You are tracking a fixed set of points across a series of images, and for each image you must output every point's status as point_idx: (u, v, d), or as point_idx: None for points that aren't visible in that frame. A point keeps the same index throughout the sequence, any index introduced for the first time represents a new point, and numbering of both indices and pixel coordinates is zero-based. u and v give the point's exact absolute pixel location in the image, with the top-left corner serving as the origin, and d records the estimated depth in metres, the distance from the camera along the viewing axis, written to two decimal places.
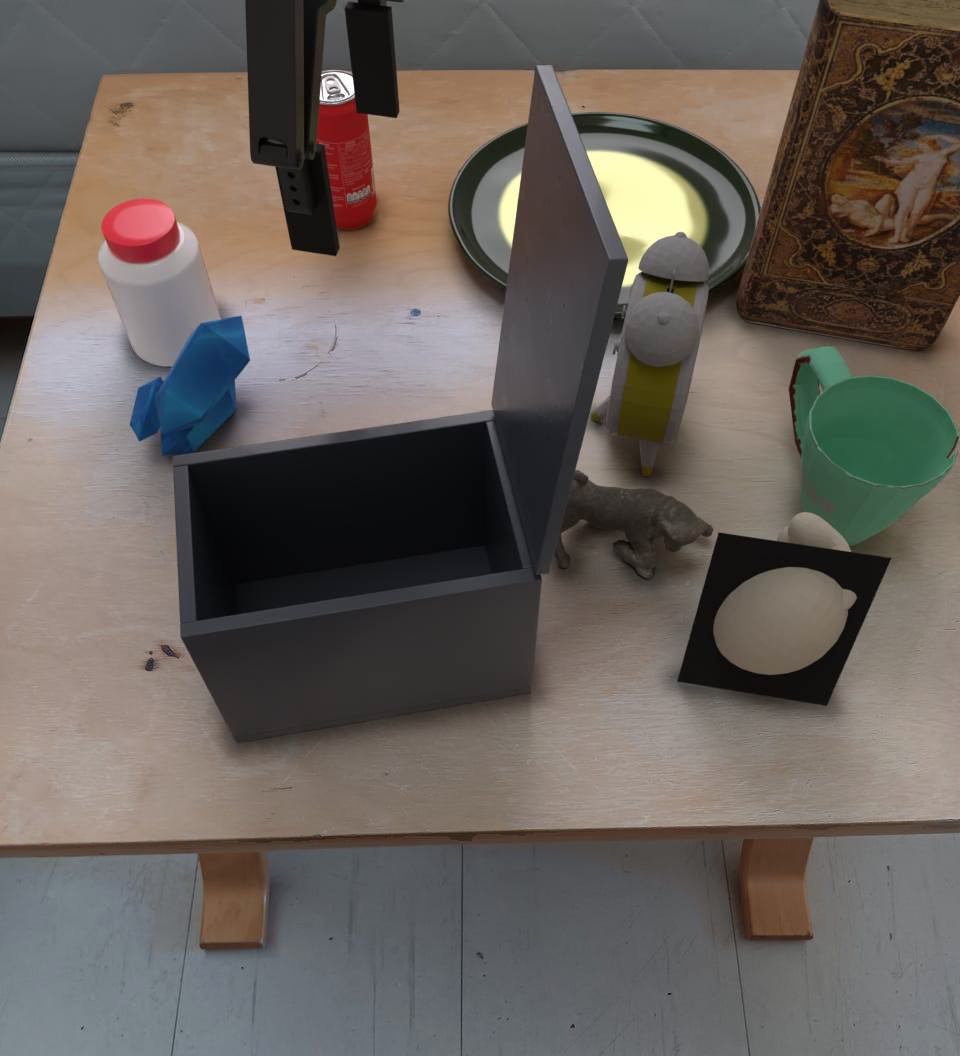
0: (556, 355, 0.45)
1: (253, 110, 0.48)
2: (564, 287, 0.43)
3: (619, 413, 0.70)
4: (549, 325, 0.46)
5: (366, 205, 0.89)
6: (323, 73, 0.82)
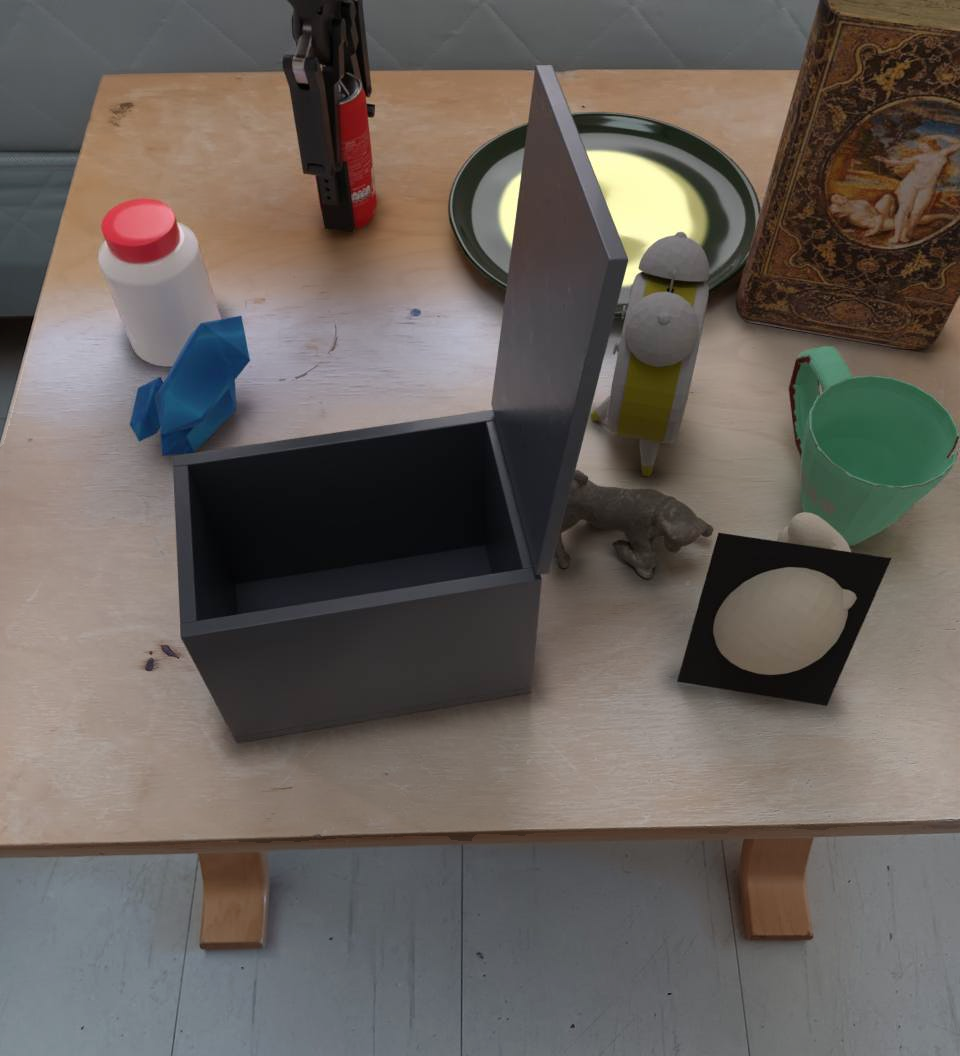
0: (556, 355, 0.45)
1: (302, 148, 0.79)
2: (564, 287, 0.43)
3: (619, 413, 0.70)
4: (549, 325, 0.46)
5: (366, 205, 0.89)
6: None
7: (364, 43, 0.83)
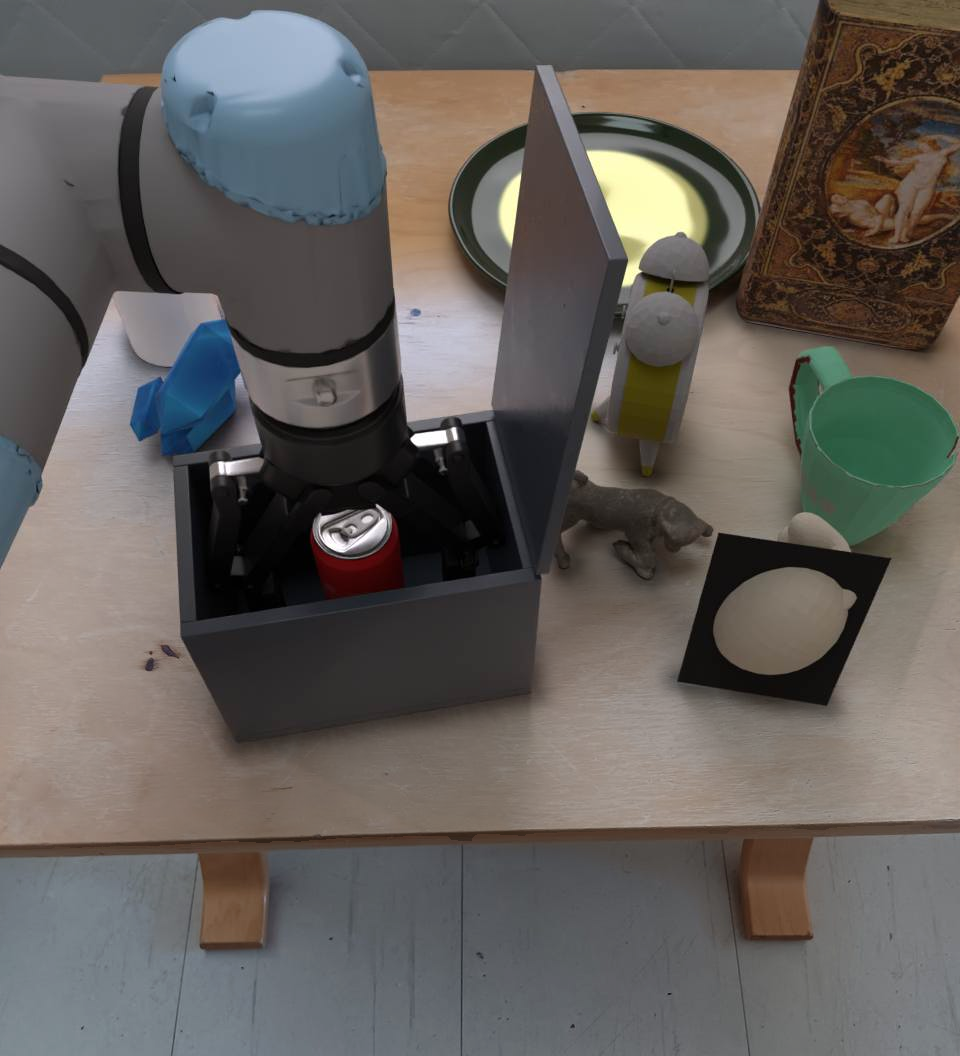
0: (556, 355, 0.45)
1: (208, 538, 0.58)
2: (564, 287, 0.43)
3: (619, 413, 0.70)
4: (549, 325, 0.46)
5: None
6: None
7: (475, 508, 0.57)
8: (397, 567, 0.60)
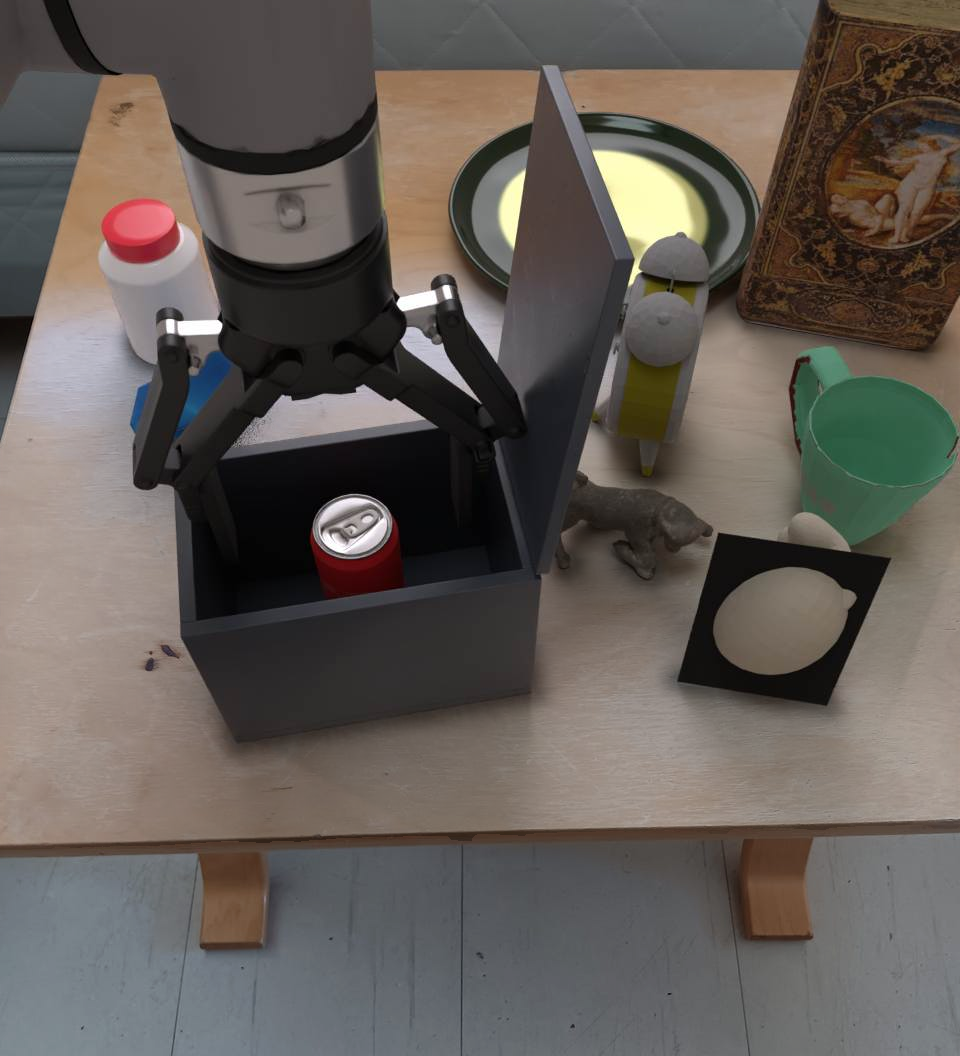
0: (559, 355, 0.45)
1: (139, 423, 0.49)
2: (568, 287, 0.43)
3: (619, 413, 0.70)
4: (552, 325, 0.46)
5: None
6: (378, 504, 0.59)
7: (483, 386, 0.48)
8: (397, 567, 0.60)
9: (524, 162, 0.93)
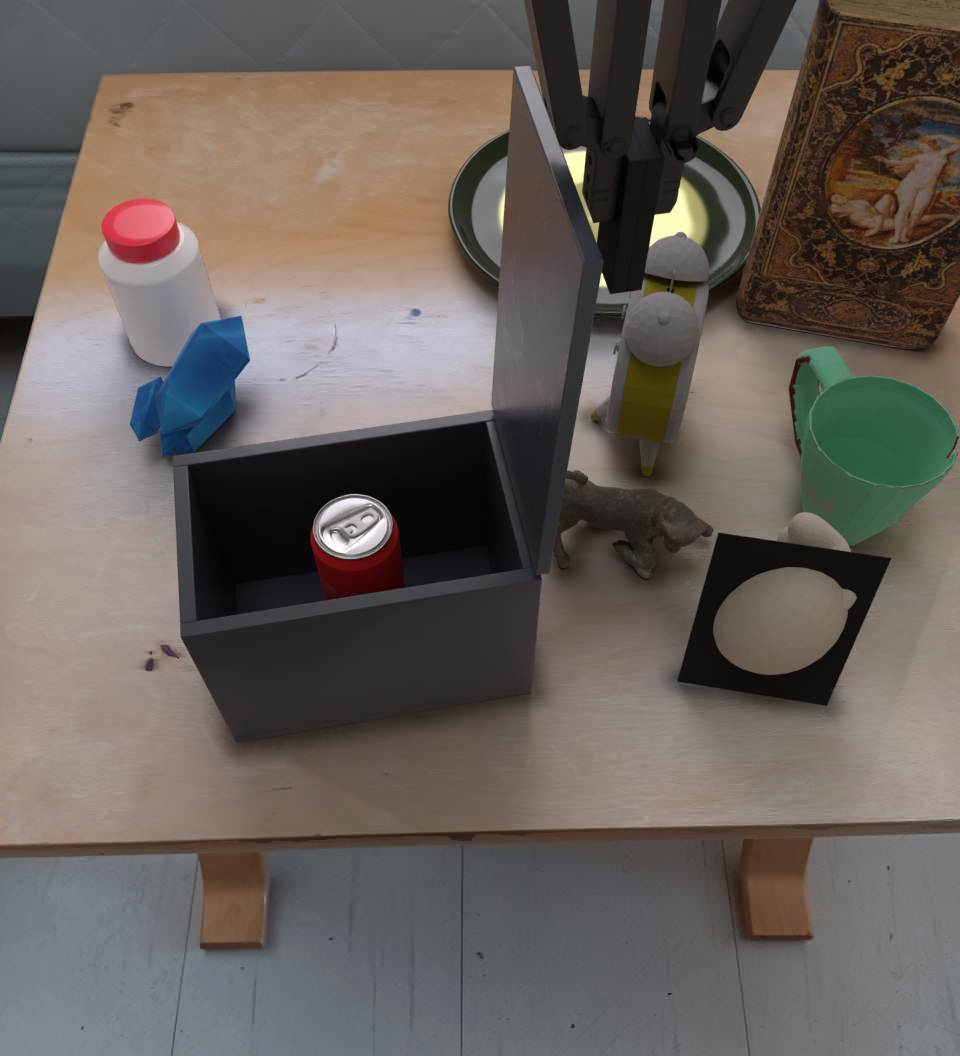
0: (543, 356, 0.45)
1: (536, 61, 0.37)
2: (547, 289, 0.43)
3: (619, 413, 0.70)
4: (536, 326, 0.46)
5: None
6: (378, 504, 0.59)
7: (777, 7, 0.35)
8: (397, 567, 0.60)
9: None
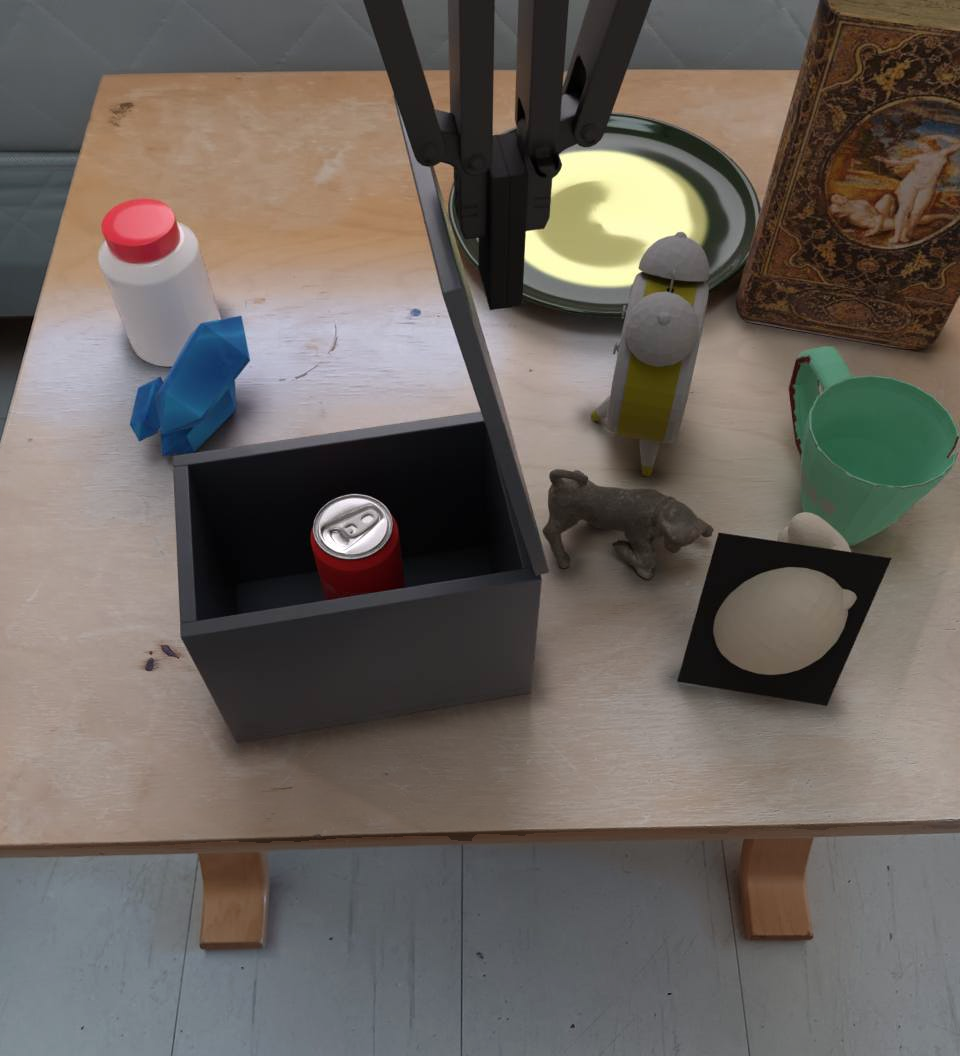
0: None
1: None
2: None
3: (619, 413, 0.70)
4: None
5: None
6: (378, 504, 0.59)
7: (626, 24, 0.35)
8: (397, 567, 0.60)
9: None
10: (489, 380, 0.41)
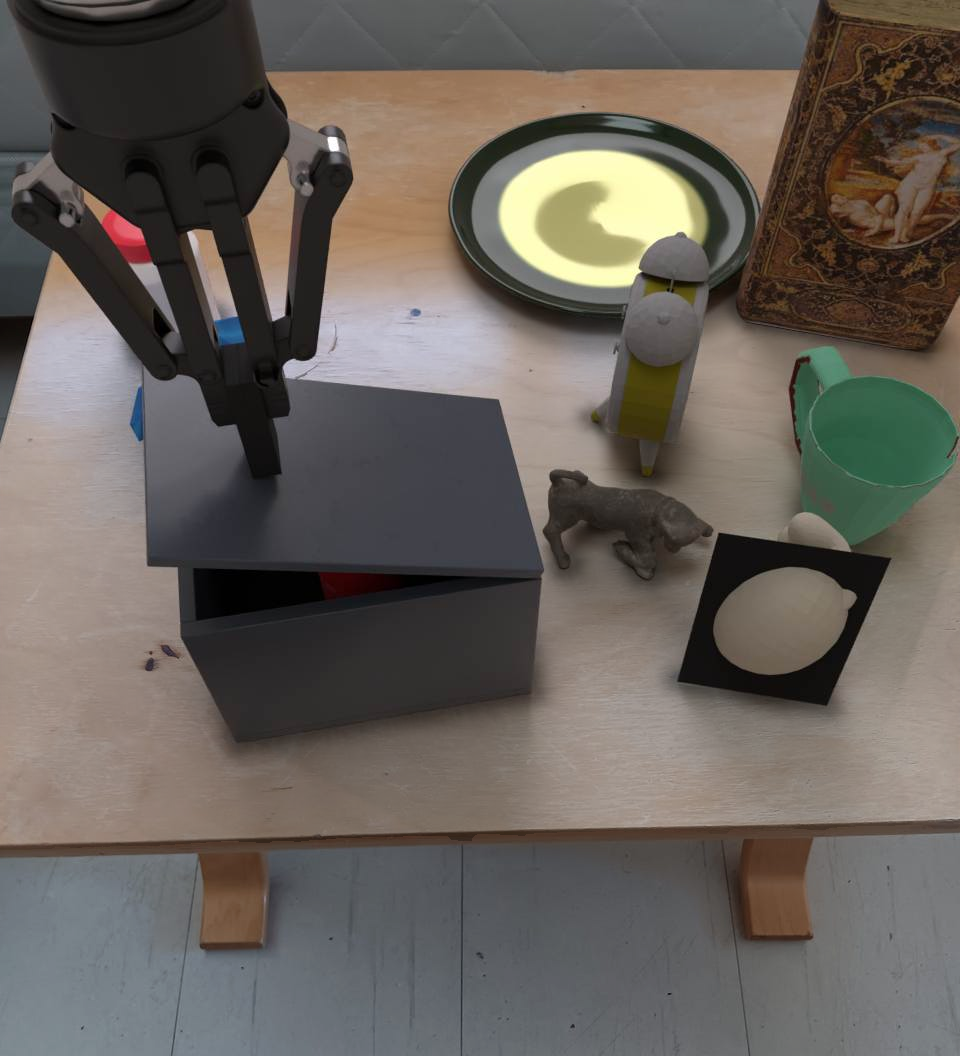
0: None
1: None
2: None
3: (619, 413, 0.70)
4: None
5: None
6: None
7: (310, 277, 0.41)
8: None
9: (524, 162, 0.93)
10: (255, 561, 0.48)
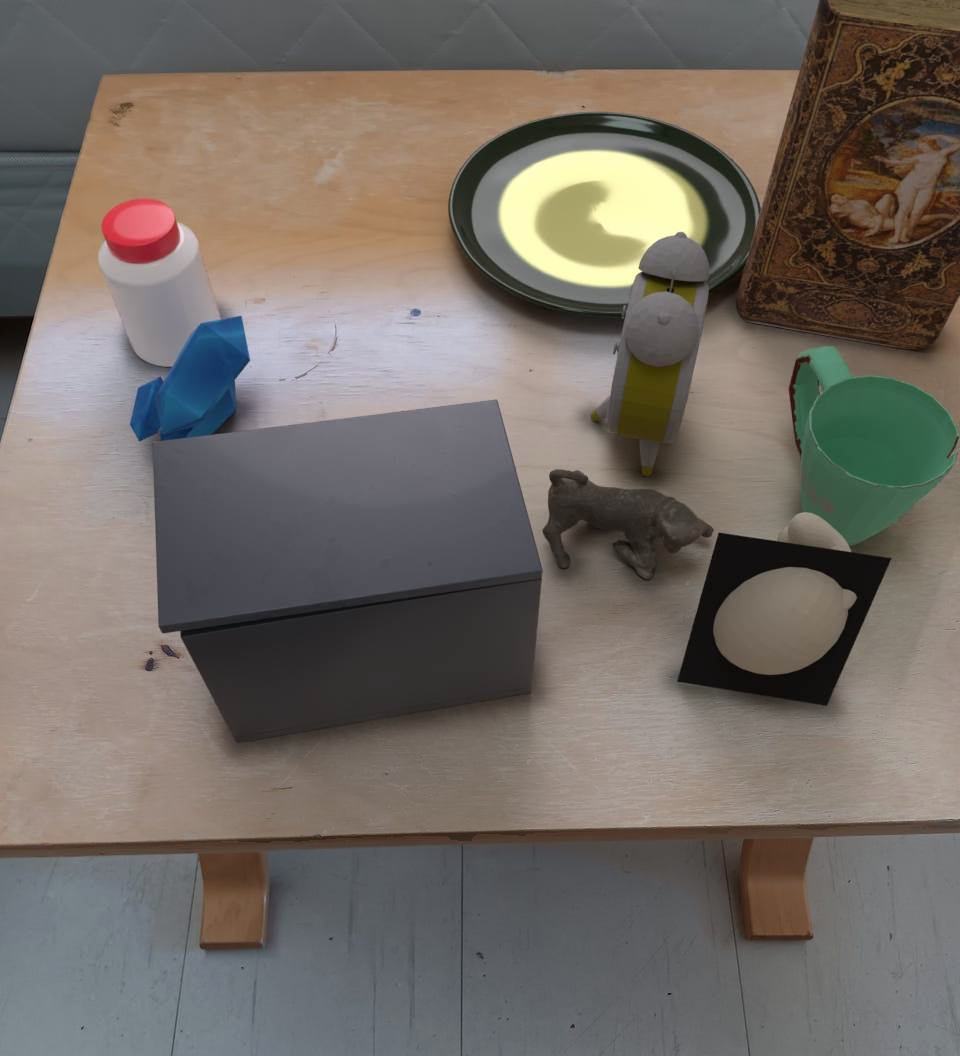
0: None
1: None
2: None
3: (619, 413, 0.70)
4: None
5: None
6: None
7: None
8: None
9: (524, 162, 0.93)
10: (255, 612, 0.52)
